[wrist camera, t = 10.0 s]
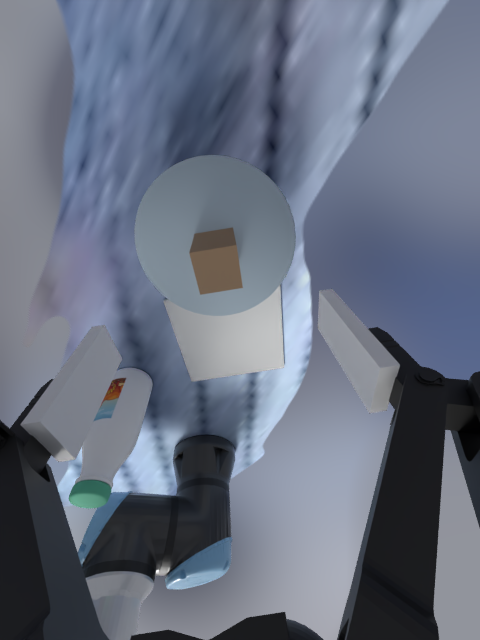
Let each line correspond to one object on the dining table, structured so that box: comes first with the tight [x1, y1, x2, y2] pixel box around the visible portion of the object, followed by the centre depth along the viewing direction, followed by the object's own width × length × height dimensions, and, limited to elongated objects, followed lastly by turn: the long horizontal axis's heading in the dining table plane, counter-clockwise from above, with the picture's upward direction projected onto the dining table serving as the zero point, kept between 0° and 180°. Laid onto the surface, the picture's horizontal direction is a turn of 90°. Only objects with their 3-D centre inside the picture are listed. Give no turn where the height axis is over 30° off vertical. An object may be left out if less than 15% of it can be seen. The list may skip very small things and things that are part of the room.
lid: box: [134, 155, 296, 316], centre depth 25 cm, size 17×17×7 cm
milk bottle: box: [69, 368, 153, 508], centre depth 39 cm, size 8×8×20 cm
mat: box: [163, 285, 284, 382], centre depth 43 cm, size 18×18×1 cm
